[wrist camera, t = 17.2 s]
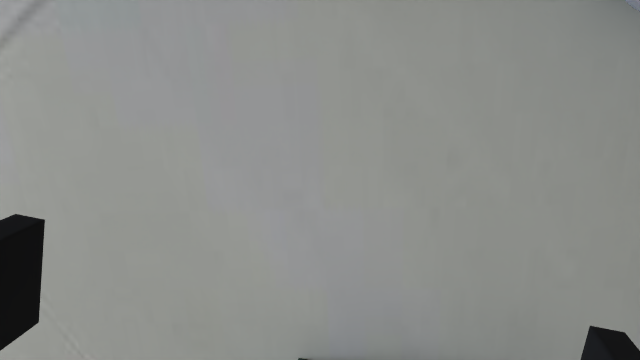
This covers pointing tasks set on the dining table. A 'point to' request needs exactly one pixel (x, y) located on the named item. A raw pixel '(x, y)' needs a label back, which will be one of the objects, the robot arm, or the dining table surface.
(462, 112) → the dining table surface
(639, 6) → the teacup
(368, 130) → the dining table surface
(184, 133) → the dining table surface
